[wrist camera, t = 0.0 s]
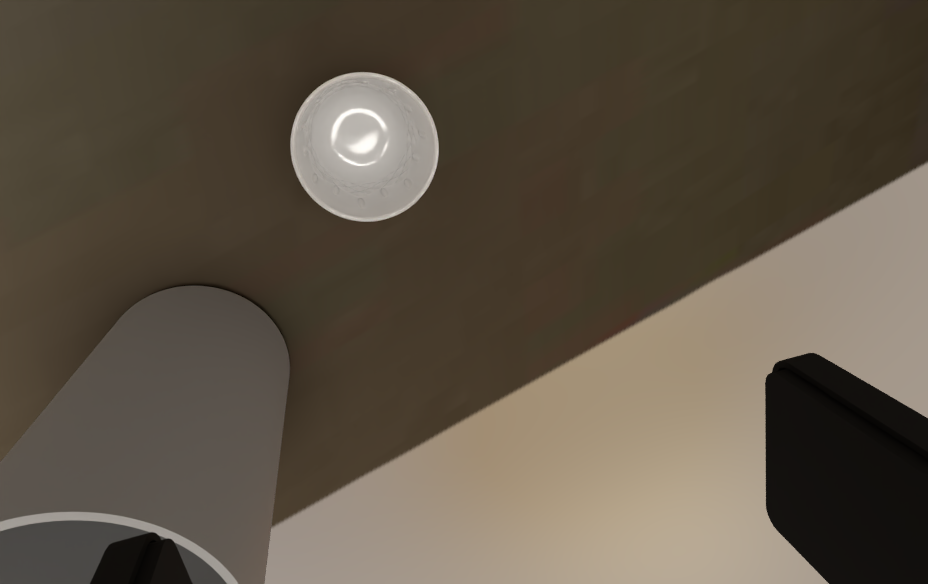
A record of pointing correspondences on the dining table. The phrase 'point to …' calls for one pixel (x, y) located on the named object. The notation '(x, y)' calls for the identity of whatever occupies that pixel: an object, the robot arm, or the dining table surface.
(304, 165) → the white cup
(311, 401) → the dining table surface
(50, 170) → the dining table surface
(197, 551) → the cylinder vase
